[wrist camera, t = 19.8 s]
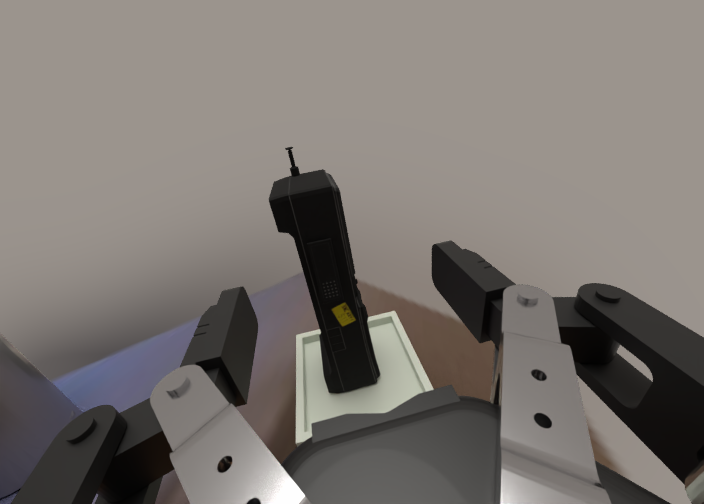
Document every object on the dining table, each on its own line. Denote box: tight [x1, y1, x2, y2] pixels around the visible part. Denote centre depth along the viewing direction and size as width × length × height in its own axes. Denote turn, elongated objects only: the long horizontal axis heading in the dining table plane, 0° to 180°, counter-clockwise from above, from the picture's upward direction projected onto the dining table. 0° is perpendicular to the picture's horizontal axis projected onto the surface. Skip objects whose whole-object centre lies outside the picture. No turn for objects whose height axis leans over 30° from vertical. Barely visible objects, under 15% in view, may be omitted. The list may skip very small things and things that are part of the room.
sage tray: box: [296, 311, 434, 447], centre depth 32 cm, size 14×14×2 cm
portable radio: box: [269, 147, 380, 394], centre depth 27 cm, size 8×6×25 cm
